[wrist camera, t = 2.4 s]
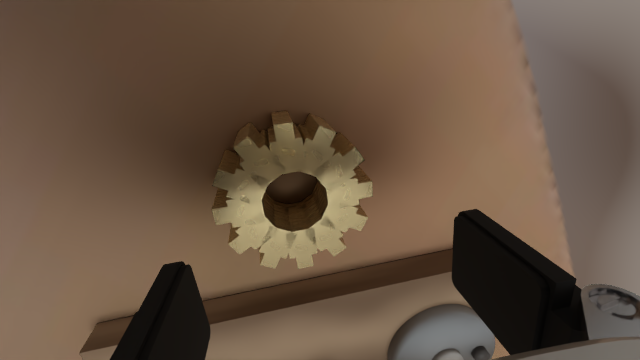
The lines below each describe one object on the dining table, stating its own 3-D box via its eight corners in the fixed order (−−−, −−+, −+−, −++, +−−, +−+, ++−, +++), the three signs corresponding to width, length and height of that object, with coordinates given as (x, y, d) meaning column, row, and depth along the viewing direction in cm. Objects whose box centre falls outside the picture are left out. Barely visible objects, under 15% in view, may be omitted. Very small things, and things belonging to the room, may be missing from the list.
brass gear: (203, 122, 15) (191, 137, 12) (350, 101, 16) (368, 111, 13) (236, 247, 18) (231, 282, 15) (358, 224, 19) (375, 253, 16)
